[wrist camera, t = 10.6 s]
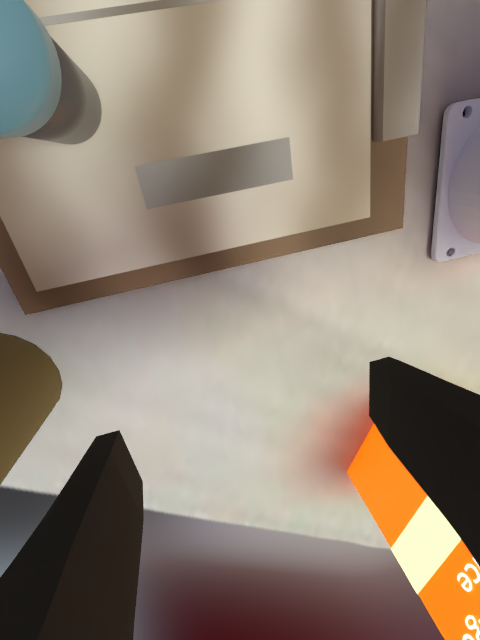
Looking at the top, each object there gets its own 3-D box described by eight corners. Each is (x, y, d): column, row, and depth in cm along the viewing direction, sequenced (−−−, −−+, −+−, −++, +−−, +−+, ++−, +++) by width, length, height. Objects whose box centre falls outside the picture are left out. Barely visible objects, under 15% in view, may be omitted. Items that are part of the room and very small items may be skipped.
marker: (88, 50, 13) (-9, -89, 6) (114, 139, 14) (64, 118, 7) (4, 63, 12) (-209, -68, 5) (40, 153, 14) (-92, 146, 7)
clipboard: (416, -196, 12) (441, -230, 11) (398, 226, 19) (412, 230, 18) (-202, -141, 10) (-246, -176, 9) (28, 311, 17) (19, 321, 16)
